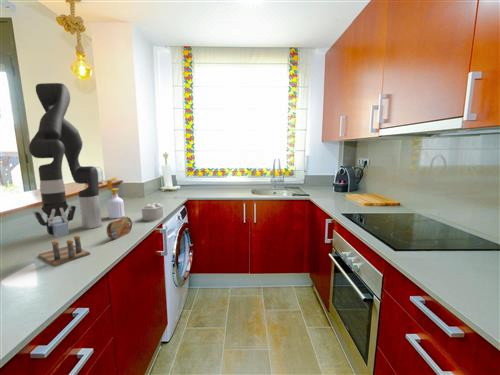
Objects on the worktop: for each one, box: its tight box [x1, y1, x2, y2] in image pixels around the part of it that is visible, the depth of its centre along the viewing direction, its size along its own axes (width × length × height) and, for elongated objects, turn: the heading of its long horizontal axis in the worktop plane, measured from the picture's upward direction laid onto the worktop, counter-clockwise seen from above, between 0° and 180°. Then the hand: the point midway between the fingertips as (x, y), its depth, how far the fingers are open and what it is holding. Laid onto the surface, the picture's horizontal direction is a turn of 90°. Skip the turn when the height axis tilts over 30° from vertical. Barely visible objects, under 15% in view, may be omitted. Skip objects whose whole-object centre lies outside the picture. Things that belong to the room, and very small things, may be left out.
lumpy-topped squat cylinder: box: [141, 202, 164, 222], centre depth 155 cm, size 10×13×9 cm
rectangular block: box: [52, 219, 70, 238], centre depth 101 cm, size 4×9×4 cm, turn 56°
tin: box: [106, 216, 133, 240], centre depth 123 cm, size 15×3×8 cm, turn 168°
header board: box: [38, 235, 91, 267], centre depth 101 cm, size 16×12×8 cm
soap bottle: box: [106, 177, 126, 219], centre depth 157 cm, size 9×9×25 cm
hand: (58, 232), depth 101 cm, fingers closed on rectangular block, 4 cm apart
